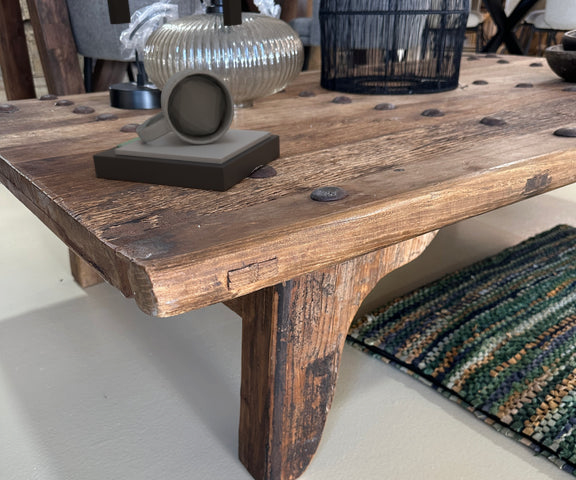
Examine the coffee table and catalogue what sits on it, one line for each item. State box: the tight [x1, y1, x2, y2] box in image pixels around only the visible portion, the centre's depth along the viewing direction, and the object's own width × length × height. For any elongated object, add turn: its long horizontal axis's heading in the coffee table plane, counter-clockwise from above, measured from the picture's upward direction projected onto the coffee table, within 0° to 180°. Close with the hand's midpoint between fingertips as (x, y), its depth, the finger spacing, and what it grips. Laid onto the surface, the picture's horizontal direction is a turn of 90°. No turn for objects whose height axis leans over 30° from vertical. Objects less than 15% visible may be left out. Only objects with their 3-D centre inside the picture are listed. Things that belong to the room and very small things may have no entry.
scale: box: [92, 128, 281, 192], centre depth 66 cm, size 16×15×3 cm
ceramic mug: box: [135, 68, 236, 145], centre depth 64 cm, size 11×8×8 cm
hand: (174, 24), depth 60 cm, fingers open, 13 cm apart
